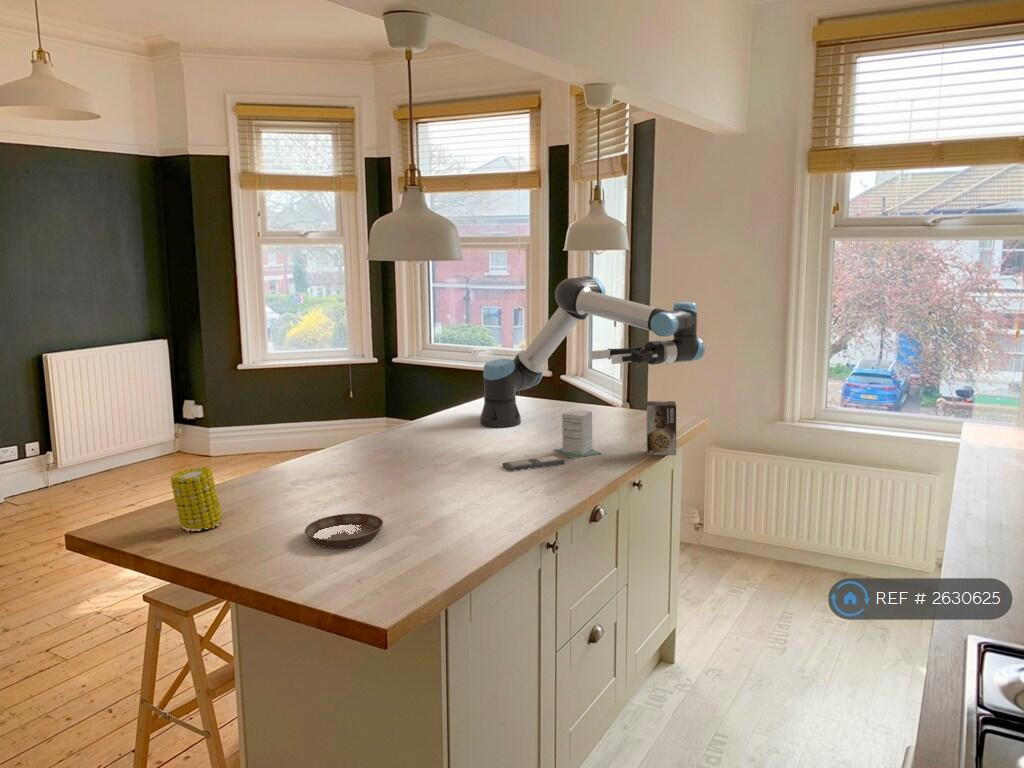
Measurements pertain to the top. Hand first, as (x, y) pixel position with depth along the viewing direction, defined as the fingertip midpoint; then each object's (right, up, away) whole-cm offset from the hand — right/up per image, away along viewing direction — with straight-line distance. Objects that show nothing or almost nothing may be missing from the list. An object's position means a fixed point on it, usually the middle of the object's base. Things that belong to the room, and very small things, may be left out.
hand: (601, 357), depth 248 cm
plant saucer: (-67, -44, -67) cm, 104 cm away
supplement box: (-7, -30, +2) cm, 31 cm away
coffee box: (+18, -30, -2) cm, 36 cm away
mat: (-8, -30, +2) cm, 31 cm away
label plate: (-22, -33, -12) cm, 41 cm away
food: (-104, -43, -58) cm, 127 cm away
